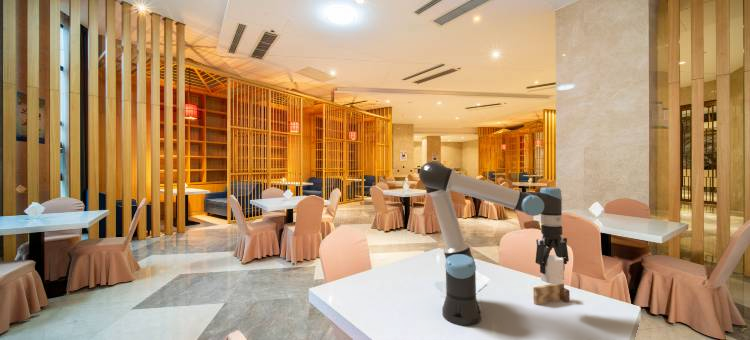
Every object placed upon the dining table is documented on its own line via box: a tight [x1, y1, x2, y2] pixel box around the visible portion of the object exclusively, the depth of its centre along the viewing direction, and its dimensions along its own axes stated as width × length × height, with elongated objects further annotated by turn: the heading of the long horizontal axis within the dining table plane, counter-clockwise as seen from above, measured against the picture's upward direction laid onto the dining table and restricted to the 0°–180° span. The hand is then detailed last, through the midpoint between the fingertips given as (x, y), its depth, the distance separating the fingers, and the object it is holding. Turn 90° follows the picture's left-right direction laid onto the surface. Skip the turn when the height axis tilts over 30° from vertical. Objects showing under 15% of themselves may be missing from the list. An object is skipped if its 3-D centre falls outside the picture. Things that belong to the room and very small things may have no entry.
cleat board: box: [532, 283, 571, 306], centre depth 128 cm, size 16×4×7 cm, turn 107°
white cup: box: [546, 254, 565, 285], centre depth 120 cm, size 8×8×10 cm
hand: (552, 279), depth 120 cm, fingers closed on white cup, 7 cm apart
